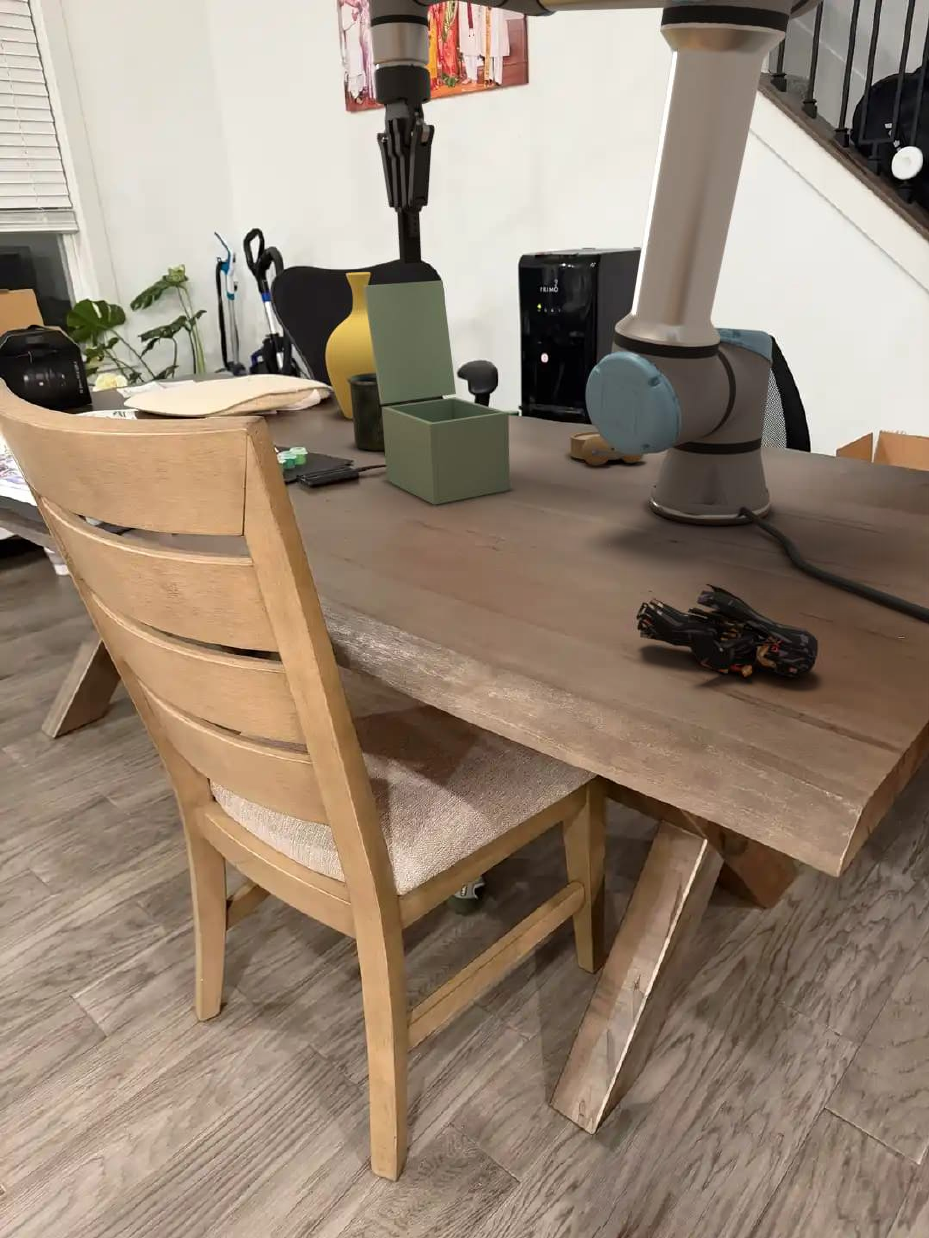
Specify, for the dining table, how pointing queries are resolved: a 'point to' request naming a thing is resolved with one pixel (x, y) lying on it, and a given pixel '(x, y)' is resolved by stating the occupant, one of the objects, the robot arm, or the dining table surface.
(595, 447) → the wooden toy car
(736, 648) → the figurine
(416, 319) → the lid
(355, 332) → the vase
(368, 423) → the mug
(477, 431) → the chest
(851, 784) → the dining table surface
